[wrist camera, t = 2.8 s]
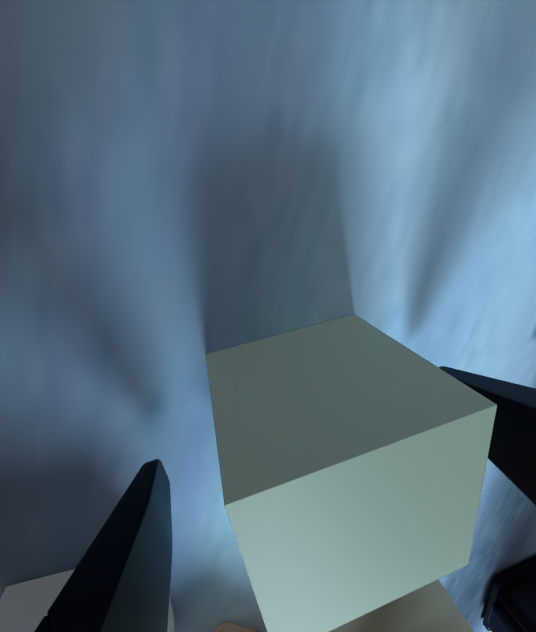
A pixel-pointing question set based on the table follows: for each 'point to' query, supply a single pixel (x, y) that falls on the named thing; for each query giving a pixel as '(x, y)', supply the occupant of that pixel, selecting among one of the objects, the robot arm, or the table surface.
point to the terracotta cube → (232, 628)
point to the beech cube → (413, 614)
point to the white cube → (37, 603)
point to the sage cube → (345, 469)
